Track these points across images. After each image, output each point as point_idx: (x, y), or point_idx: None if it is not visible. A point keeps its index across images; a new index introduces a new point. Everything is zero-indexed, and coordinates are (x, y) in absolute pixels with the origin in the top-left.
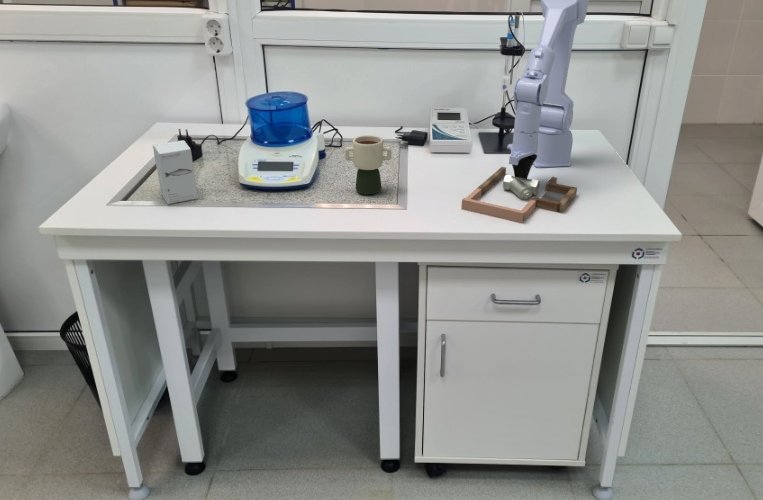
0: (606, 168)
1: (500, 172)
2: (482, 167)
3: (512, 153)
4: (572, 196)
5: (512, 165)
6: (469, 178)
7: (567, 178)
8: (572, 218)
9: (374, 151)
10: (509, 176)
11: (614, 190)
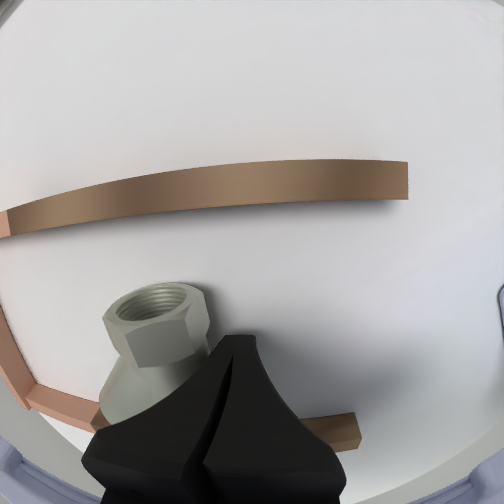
0: (489, 419)
1: (287, 201)
2: (402, 37)
3: (12, 498)
4: None
5: (143, 412)
6: (195, 34)
7: (423, 414)
8: None
9: None
10: (128, 355)
11: (364, 486)
